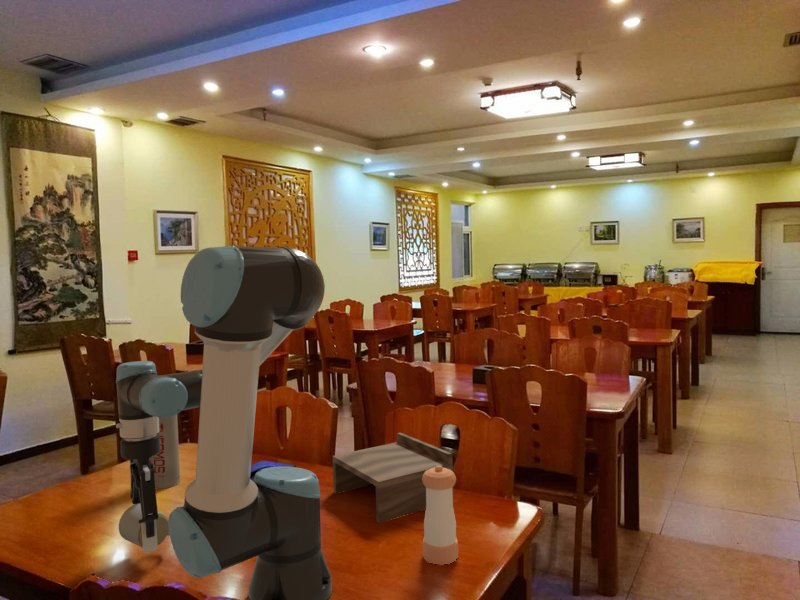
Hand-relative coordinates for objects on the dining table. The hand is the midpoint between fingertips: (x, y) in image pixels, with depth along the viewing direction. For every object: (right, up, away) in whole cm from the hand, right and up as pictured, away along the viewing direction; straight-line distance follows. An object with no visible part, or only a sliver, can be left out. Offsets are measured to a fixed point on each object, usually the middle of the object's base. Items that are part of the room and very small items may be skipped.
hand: (145, 542), depth 123 cm
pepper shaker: (+62, -3, -1) cm, 62 cm away
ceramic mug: (+1, 0, +1) cm, 2 cm away
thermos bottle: (-14, -2, +45) cm, 48 cm away
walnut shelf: (+51, -1, +32) cm, 60 cm away
